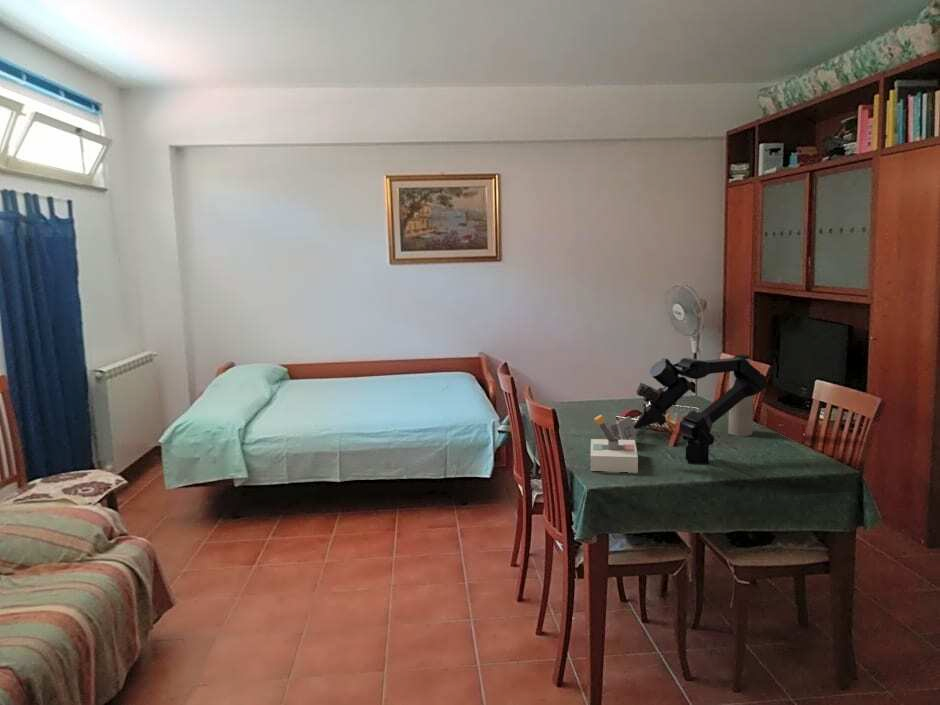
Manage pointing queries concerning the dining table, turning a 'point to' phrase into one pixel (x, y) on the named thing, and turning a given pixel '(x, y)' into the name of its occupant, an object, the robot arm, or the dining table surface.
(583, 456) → the dining table surface
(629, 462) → the breaker housing
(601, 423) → the breaker lever
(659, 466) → the dining table surface
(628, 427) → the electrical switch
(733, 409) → the thermos bottle
